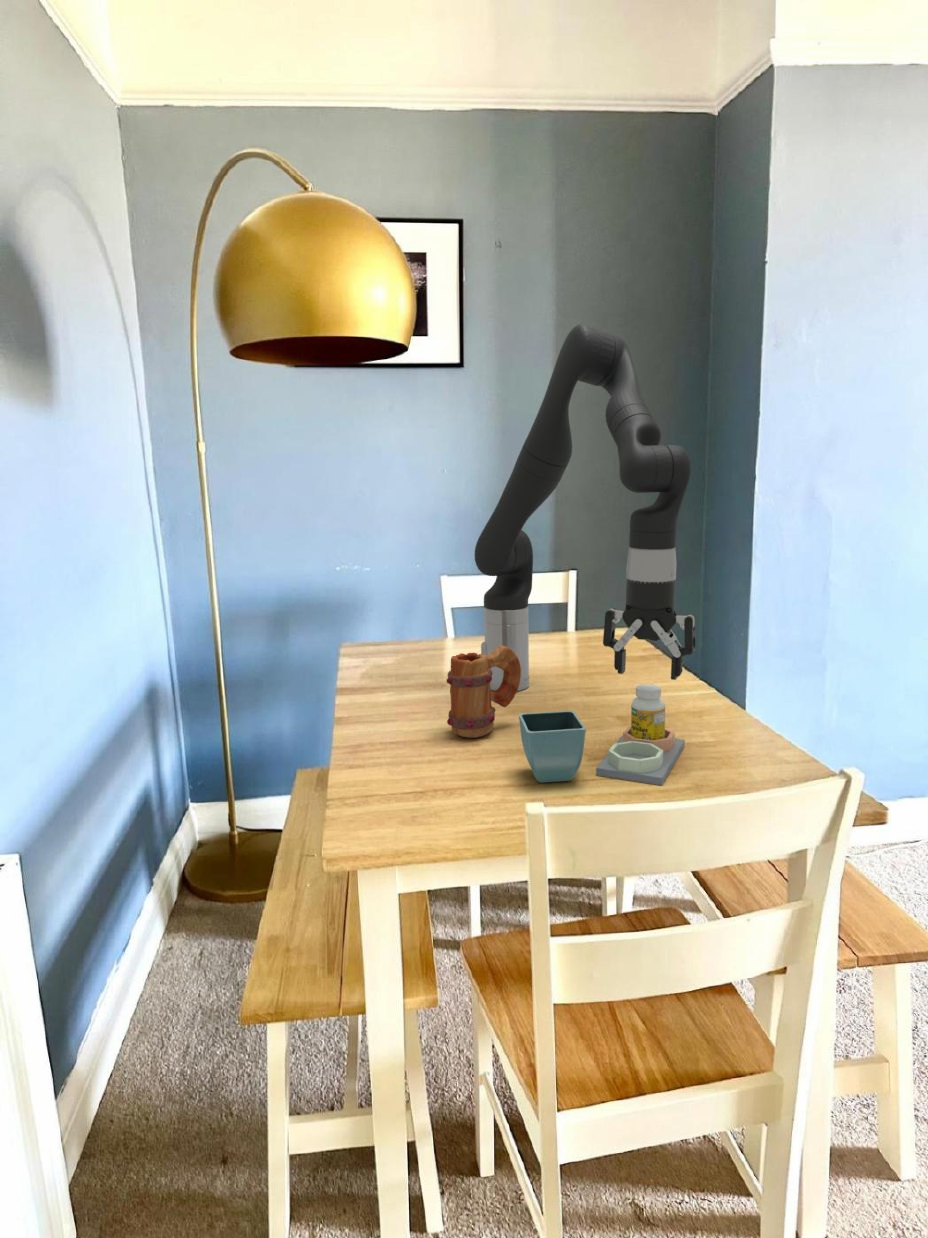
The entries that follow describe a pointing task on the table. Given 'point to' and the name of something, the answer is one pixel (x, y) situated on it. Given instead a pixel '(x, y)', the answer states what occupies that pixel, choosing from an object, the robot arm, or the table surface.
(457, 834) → the table surface
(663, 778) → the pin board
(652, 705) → the supplement bottle
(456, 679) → the mug
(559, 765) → the flower pot
